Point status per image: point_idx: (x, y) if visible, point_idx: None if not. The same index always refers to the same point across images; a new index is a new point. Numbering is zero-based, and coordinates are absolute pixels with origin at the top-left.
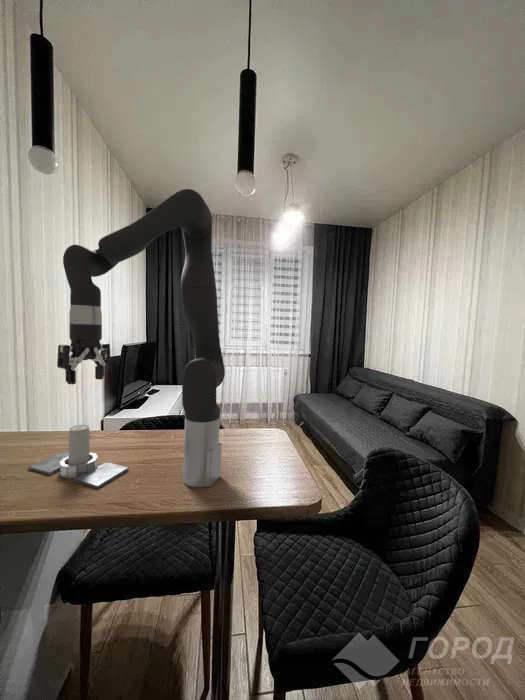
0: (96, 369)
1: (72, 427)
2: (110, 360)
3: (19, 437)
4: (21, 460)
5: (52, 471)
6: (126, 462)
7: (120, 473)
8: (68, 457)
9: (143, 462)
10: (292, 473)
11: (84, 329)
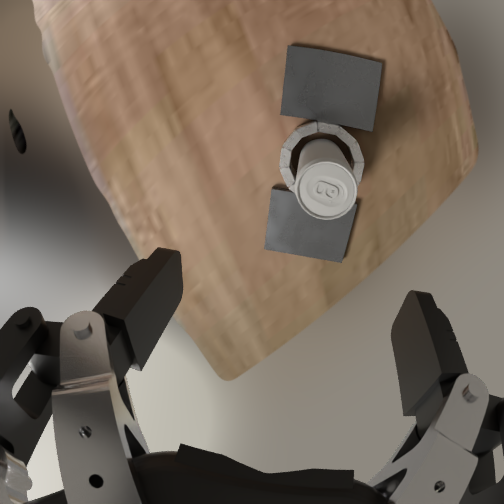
0: (150, 341)
1: (325, 217)
2: (7, 321)
3: (232, 361)
4: (311, 297)
5: None
6: (253, 76)
7: (314, 49)
8: None
9: (239, 39)
10: None
11: None
